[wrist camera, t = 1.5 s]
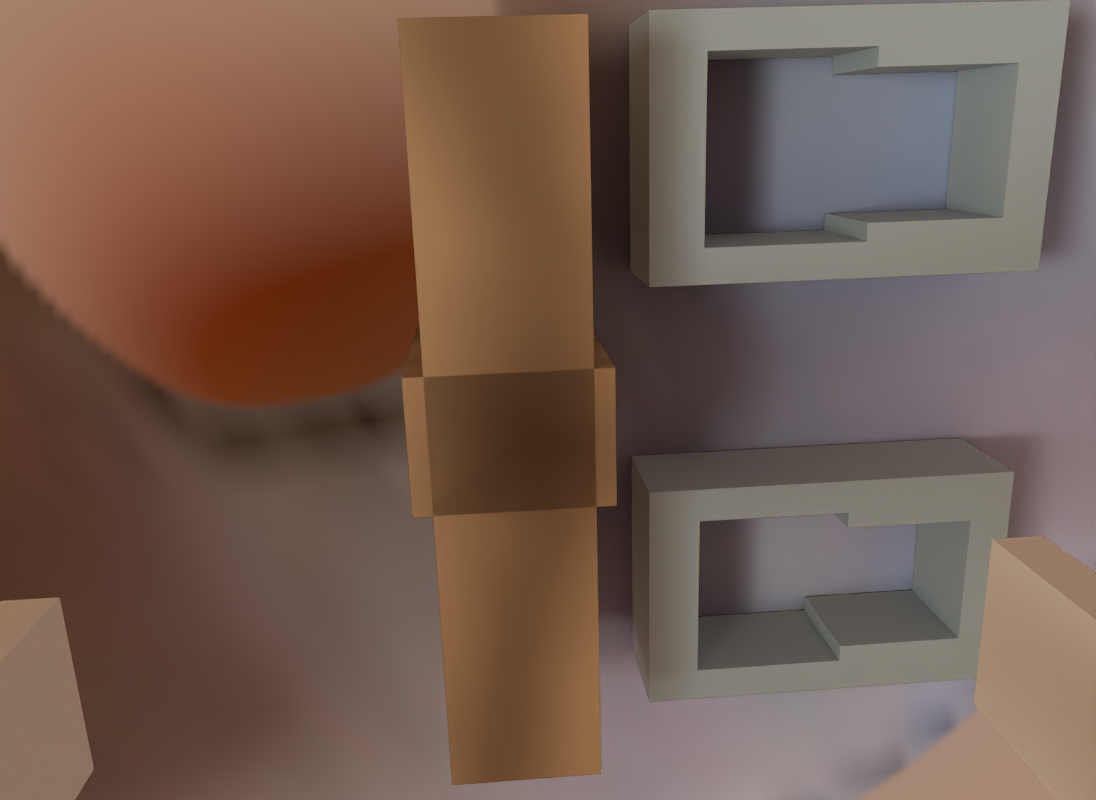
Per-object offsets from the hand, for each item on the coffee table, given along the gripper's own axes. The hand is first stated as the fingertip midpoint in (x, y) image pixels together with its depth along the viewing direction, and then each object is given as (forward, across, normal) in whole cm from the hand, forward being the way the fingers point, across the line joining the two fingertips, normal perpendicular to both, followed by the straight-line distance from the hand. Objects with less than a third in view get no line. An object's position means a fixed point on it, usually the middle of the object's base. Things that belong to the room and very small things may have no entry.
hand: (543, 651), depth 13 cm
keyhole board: (+16, +9, 0) cm, 19 cm away
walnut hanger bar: (+16, 0, 0) cm, 16 cm away
